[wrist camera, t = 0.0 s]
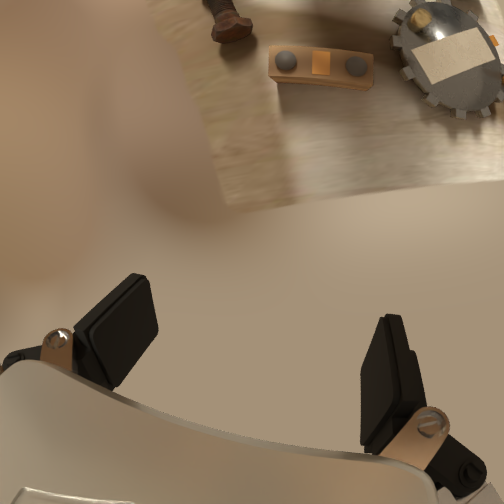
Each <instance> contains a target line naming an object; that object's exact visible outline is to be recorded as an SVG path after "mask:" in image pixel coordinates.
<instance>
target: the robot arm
mask: <svg viewBox="0 0 504 504" xmlns="http://www.w3.org/2000/svg"><path fill="white" fill-rule="evenodd" d="M73 328H74V330H75V332H74V333H73V334H72V332H71V331H70V330H68V329H65V328H58V329H55V330H53V331H51V332H49V333H48V334H47V335H46V336H45V337H44V339H43V343H42V345H41V346H36V347H31V348H26V349H22V350H17V351H14V352H11V353H9V354H8V355H7V357H6V358H5V359H4V361H3V364H2V365H1V363H0V504H504V503H503V501H502V500H501V498H500V496H499V495H498V493H497V492H496V490H495V488H494V487H493V485H492V484H491V482H490V483H488V484H487V483H486V481H485V479H486V476H487V470H486V466H485V464H484V462H483V461H482V460H481V459H480V458H479V457H478V456H476V455H475V454H474V453H472V452H471V451H470V450H468V449H467V448H466V447H465V446H463V445H462V444H461V443H459V442H458V441H457V440H455V439H454V438H453V437H452V436H451V435H449V434H448V433H449V430H450V422H449V419H448V417H447V416H446V414H445V413H444V412H443V411H442V410H440V409H438V408H436V407H431V406H428V407H427V403H426V398H425V392H424V387H423V383H422V378H421V373H420V369H419V364H418V360H417V356H416V353H415V351H413V350H410V349H409V345H408V341H407V337H406V332H405V329H404V325H403V321H402V318H401V316H400V315H395V314H386V315H385V317H380V319H379V322H378V325H377V327H376V331H375V333H374V336H373V339H372V341H371V344H370V346H369V349H368V352H367V354H366V357H365V359H364V362H363V364H362V367H361V374H360V376H361V434H360V444H361V445H363V446H364V453H372V455H370V454H361V453H352V452H343V451H330V450H322V449H314V448H307V447H299V446H293V445H286V444H281V443H275V442H269V441H264V440H260V439H254V438H250V437H245V436H241V435H237V434H233V433H229V432H225V431H221V430H218V429H214V428H210V427H206V426H203V425H200V424H197V423H193V422H190V421H187V420H184V419H181V418H178V417H175V416H172V415H169V414H166V413H164V412H161V411H158V410H156V409H153V408H150V407H148V406H145V405H143V404H140V403H138V402H135V401H133V400H131V399H128V398H126V397H123V396H121V395H119V394H117V393H115V392H112V391H113V389H114V388H115V387H118V386H119V385H120V384H121V383H122V381H123V380H124V379H125V377H126V376H127V375H128V373H129V372H130V370H131V369H132V368H133V366H134V365H135V364H136V362H137V361H138V360H139V358H140V357H141V356H142V354H143V353H144V352H145V350H146V349H147V348H148V346H149V345H150V343H151V342H152V341H153V340H154V338H155V337H156V336H157V334H158V323H157V319H156V314H155V309H154V304H153V299H152V293H151V288H150V283H149V281H148V280H147V278H146V276H144V275H140V274H136V273H132V274H130V275H129V276H128V277H127V278H126V279H125V280H123V281H122V282H121V283H120V284H119V285H118V286H117V287H116V288H115V289H114V290H112V291H111V292H110V293H109V294H108V295H107V296H106V297H105V298H104V299H102V300H101V301H100V302H99V303H98V304H97V305H96V306H95V307H94V308H93V309H91V311H89V312H88V313H87V314H86V315H85V316H84V317H83V318H82V319H81V320H80V321H79V322H78V323H77V324H76V325H75V326H74V327H73ZM100 385H101V386H100Z"/></svg>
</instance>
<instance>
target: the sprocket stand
mask: <svg viewBox="0 0 504 504" xmlns="http://www.w3.org/2000/svg"><path fill="white" fill-rule="evenodd" d="M500 89H501V90H502V91H503V92H504V76H503V77H502V83H501V88H500Z"/></svg>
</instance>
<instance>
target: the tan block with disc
mask: <svg viewBox="0 0 504 504" xmlns="http://www.w3.org/2000/svg"><path fill="white" fill-rule="evenodd" d="M268 76H269V77H270V78H272V79H273V80H274V81H275V82H276V83H296V84H311V85H323V86H333V87H341V88H349V89H356V90H363V91H367V90H368V89H369V88H371V87H372V86H373V54H369V53H363V52H356V51H349V50H340V49H331V48H320V47H305V46H269V71H268Z"/></svg>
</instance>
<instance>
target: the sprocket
mask: <svg viewBox="0 0 504 504" xmlns="http://www.w3.org/2000/svg"><path fill="white" fill-rule="evenodd" d="M409 4H410V5H411V6H412V9H411V10H410V11H409V12H408V13H406V12H404V11H403V10H401V9H399V10H398V12H397V13H396V15H395V17H394V19H393V20H392V21H393V22H395V23H397V24H398V25H400V26H399V30H398V36H396V35H392V36H391V37H390V39H389V41H390V49H391V50H397V51H399V53H400V57H401V60H402V62H403V64H404V67H405V68H403V69H401V70H400V71H399V73H400V74H401V76H402V77H403V79H404V81H405V82H406V81H408V80H410V79H412V80H413V81H414V82H415V84H416V85H417V86H418V87H419V88H420V89H421V90H422V91H423V92H424V93H425V95H424V96H423V98H422V101H423V102H425V103H426V104H427V105H429V106H430V107H436V106H437V104H438V103H439V104H440V105H442V106H444V107H447V108H449V109H450V117H453V118H458V119H466V111H475V113H476V116H477V117H479V118H484V117H486V116H488V115H491V112H490V110H489V108H488V106H489V105H490V104H491V103H492V102H493V101H494V102H503V99H504V92H503V91H502V90H501V89H500V88H501V83H502V77H503V76H504V64H501V63H500V59H499V56H498V53H497V50H496V48H495V46H498V45H499V44H498V42H497V40H496V39H495V37H494V35H492V36H488V34H487V33H486V32H485V31H484V29H483V28H482V27H481V26H480V25H479V24H478V23H477V20H478V17H477V16H476V15H475V14H474V13H473V12H471V11H470V10H469V11H467V12H466V13H465V12H463V11H461V10H460V9H458V8H456V7H454V6H452V5H451V1H450V0H436V2H426V1H425V0H411V1H410V3H409Z"/></svg>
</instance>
